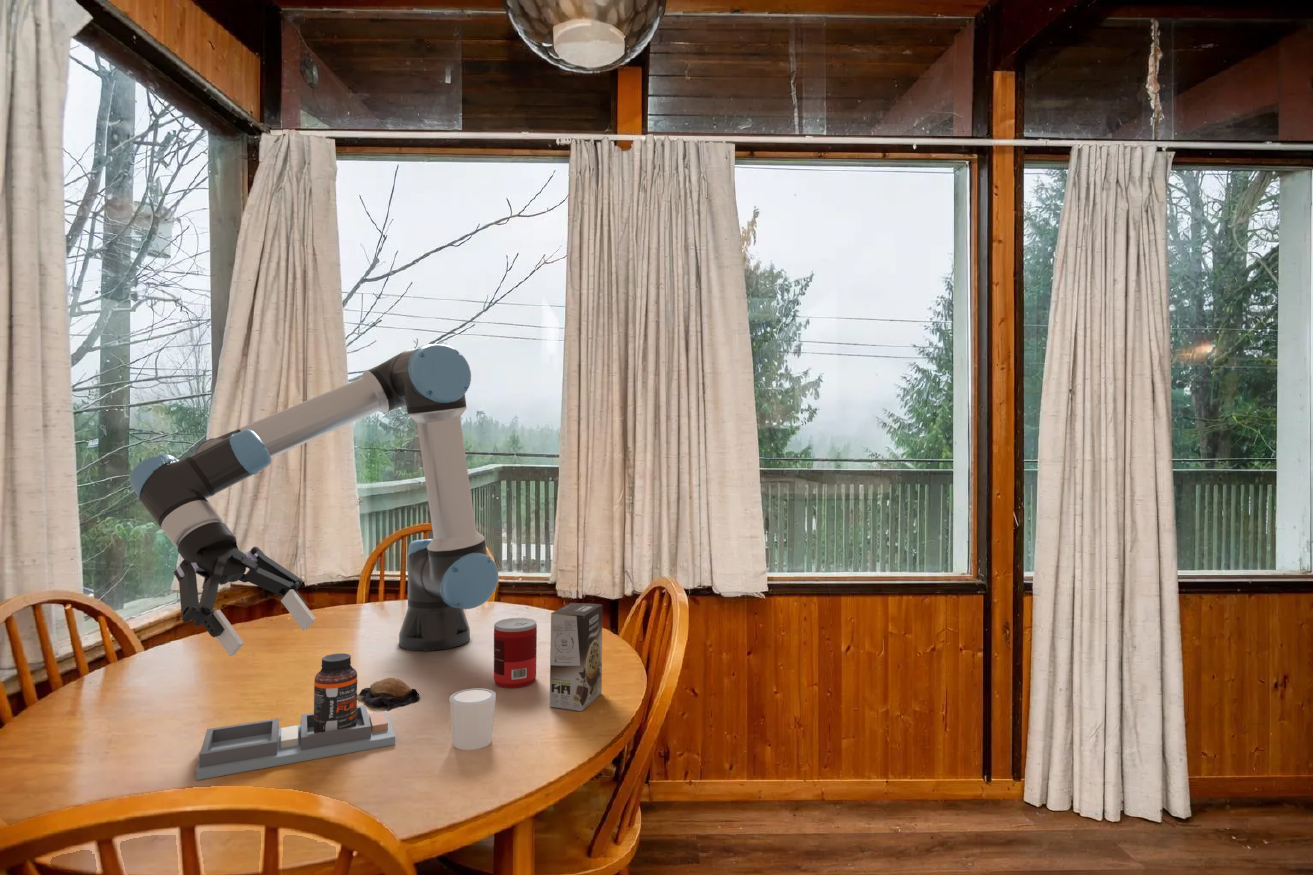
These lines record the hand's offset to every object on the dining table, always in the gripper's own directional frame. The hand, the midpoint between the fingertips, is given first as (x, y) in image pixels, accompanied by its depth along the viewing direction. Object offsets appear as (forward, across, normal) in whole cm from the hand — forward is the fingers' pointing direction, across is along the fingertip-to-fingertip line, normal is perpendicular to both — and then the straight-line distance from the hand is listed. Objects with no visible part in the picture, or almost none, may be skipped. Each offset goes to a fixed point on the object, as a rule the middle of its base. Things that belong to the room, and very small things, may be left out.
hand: (275, 636), depth 109 cm
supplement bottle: (+17, 0, -2) cm, 18 cm away
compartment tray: (+16, +3, -5) cm, 17 cm away
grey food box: (+38, -27, +16) cm, 50 cm away
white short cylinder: (+32, -6, +11) cm, 35 cm away
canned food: (+28, -32, +5) cm, 43 cm away
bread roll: (+16, -17, -6) cm, 24 cm away
